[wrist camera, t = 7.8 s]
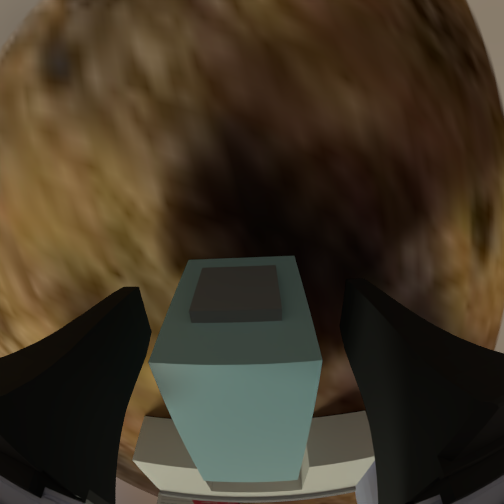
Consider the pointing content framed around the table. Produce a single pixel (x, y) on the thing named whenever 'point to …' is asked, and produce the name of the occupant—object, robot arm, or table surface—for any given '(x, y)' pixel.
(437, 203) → the table surface
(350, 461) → the block
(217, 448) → the grey-green boxy piece
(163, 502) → the ink box
